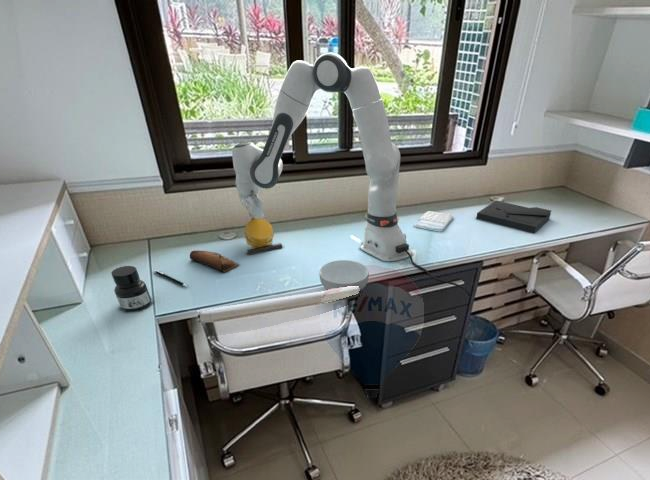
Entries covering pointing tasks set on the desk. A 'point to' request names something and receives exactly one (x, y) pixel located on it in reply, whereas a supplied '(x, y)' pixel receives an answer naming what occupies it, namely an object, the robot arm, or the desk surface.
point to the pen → (169, 278)
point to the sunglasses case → (213, 260)
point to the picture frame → (514, 216)
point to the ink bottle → (130, 289)
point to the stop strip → (264, 248)
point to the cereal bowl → (343, 274)
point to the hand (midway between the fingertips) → (254, 221)
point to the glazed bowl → (258, 233)
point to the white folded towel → (434, 221)
